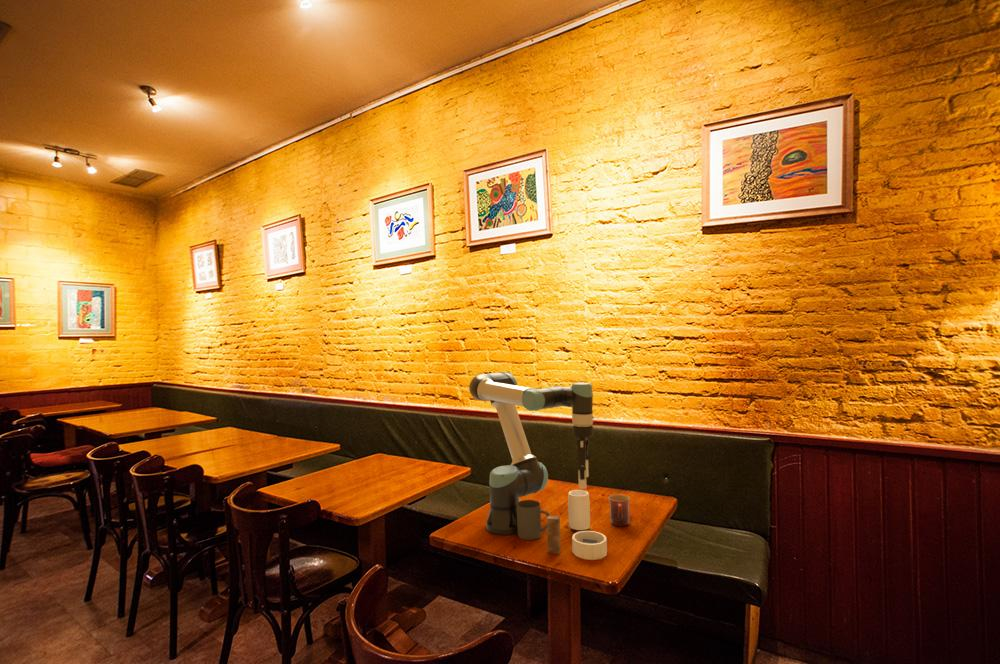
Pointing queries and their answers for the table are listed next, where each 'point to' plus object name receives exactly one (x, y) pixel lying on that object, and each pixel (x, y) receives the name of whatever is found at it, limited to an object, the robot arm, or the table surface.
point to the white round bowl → (589, 545)
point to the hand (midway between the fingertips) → (583, 482)
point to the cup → (579, 509)
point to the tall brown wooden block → (553, 534)
